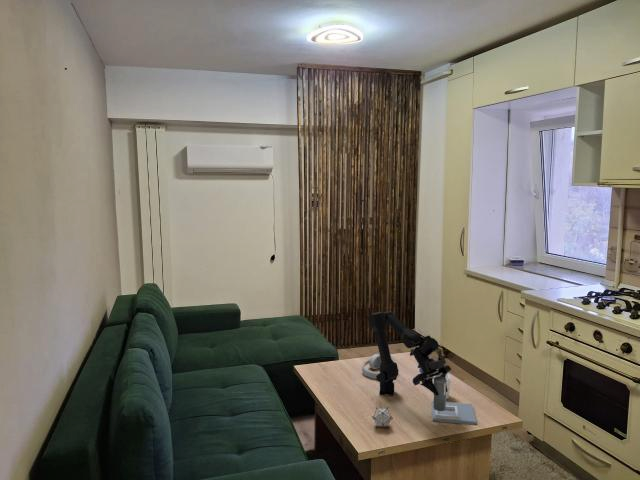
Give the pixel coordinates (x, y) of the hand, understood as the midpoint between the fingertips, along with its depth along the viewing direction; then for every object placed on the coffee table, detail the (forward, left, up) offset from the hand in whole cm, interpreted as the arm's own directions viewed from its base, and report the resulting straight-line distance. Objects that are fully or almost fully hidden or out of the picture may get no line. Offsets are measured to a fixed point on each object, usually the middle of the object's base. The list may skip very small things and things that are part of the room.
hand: (442, 393), depth 198 cm
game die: (-25, -7, -14) cm, 29 cm away
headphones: (-29, +49, -14) cm, 59 cm away
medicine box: (-5, +51, -14) cm, 53 cm away
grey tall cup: (-1, +1, -7) cm, 7 cm away
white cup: (+1, +25, -14) cm, 29 cm away
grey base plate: (+5, +9, -13) cm, 17 cm away
